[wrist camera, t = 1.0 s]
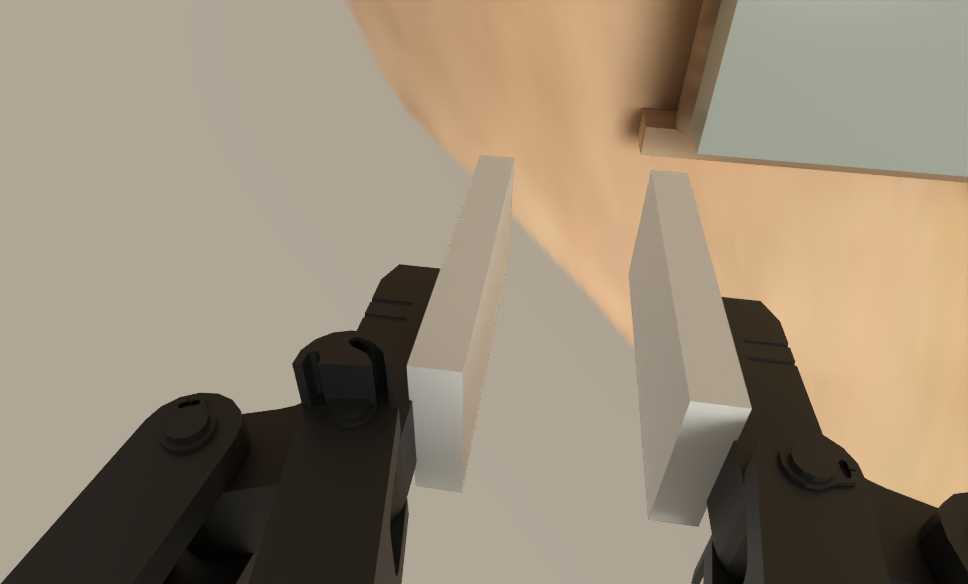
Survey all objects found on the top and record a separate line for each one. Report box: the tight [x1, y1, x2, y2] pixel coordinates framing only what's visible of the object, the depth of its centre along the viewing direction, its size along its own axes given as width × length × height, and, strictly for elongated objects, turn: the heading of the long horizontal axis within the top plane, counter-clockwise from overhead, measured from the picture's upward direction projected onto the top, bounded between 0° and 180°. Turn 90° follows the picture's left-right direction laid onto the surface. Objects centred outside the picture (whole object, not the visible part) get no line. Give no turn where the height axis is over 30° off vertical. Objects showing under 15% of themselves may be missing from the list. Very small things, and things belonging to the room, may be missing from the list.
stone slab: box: [689, 0, 968, 177], centre depth 26 cm, size 10×12×3 cm
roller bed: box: [638, 0, 968, 183], centre depth 28 cm, size 14×22×4 cm, turn 88°
